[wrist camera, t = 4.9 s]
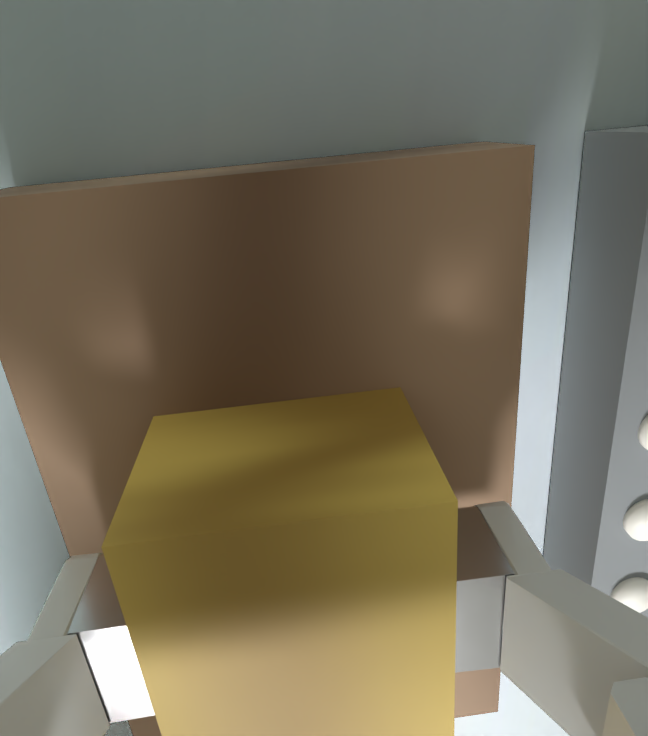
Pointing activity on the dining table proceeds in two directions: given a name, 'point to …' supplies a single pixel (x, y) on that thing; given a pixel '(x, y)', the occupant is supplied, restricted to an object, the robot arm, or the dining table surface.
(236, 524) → the stub
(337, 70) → the dining table surface
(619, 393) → the grey notebook
